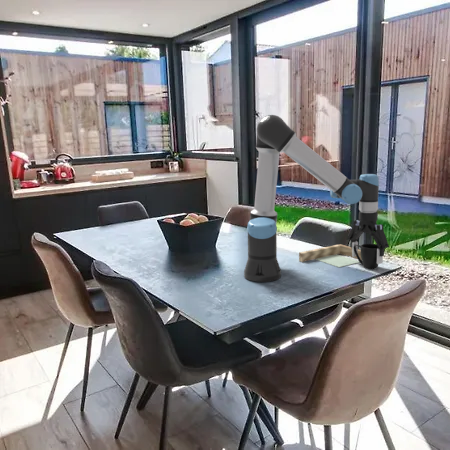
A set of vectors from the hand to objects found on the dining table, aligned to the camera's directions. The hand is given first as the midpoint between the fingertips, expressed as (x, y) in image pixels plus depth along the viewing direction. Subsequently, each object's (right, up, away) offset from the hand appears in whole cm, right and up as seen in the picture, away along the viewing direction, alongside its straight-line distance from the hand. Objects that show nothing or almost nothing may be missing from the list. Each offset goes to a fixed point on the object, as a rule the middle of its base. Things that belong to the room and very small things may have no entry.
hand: (366, 259), depth 186 cm
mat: (-10, -1, +10) cm, 14 cm away
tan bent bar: (-12, -1, +11) cm, 16 cm away
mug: (0, -3, +1) cm, 3 cm away
